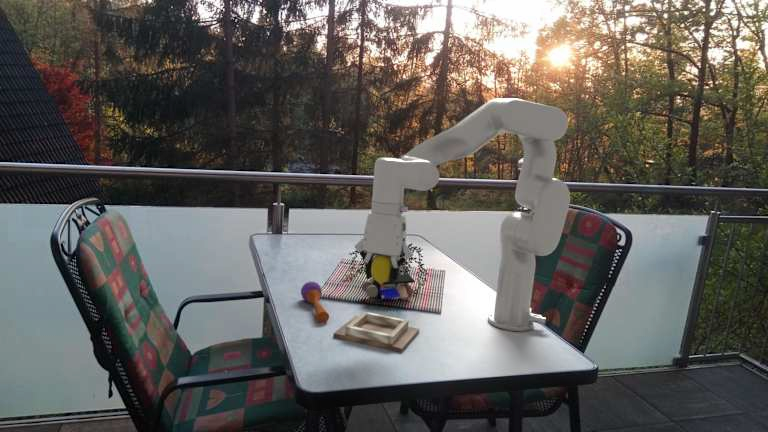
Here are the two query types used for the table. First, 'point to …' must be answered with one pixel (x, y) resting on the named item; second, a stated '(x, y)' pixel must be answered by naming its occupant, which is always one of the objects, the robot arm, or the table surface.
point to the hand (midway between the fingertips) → (381, 279)
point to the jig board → (378, 331)
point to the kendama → (314, 299)
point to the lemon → (381, 268)
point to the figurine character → (389, 289)
